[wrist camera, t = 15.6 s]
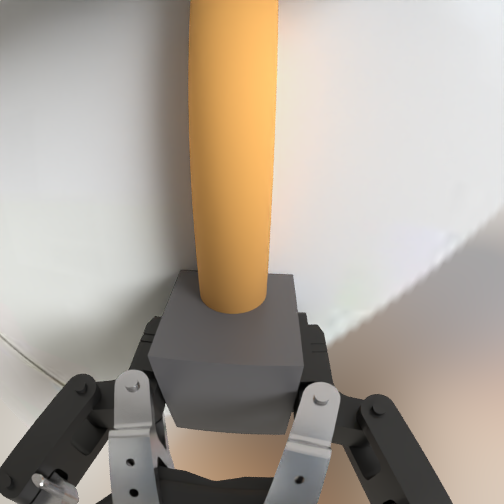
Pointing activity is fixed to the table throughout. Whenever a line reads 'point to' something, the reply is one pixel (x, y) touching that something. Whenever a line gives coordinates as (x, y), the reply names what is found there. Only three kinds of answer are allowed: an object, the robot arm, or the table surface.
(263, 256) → the hammer
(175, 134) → the table surface
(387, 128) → the table surface
